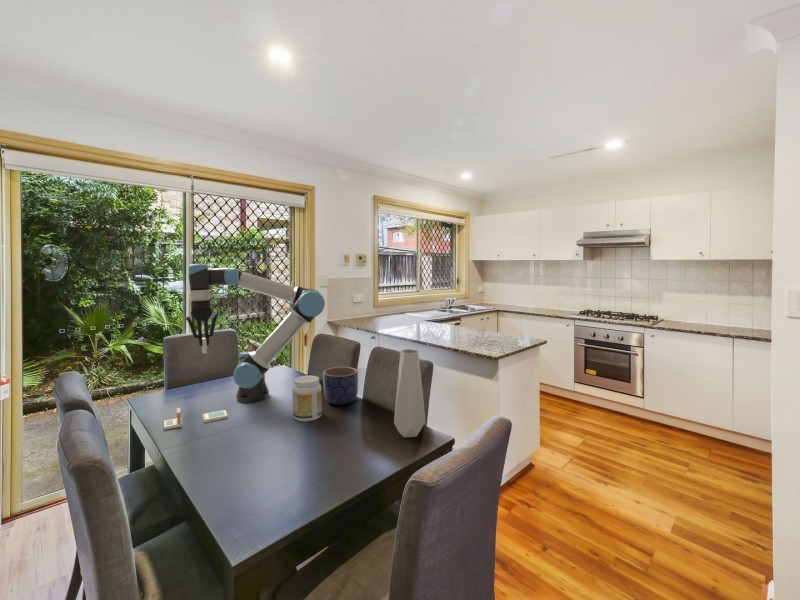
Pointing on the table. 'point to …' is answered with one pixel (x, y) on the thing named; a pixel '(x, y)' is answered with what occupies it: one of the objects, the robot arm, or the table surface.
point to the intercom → (173, 421)
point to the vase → (409, 395)
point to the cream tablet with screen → (214, 416)
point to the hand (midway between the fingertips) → (204, 352)
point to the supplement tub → (307, 398)
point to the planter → (340, 385)
